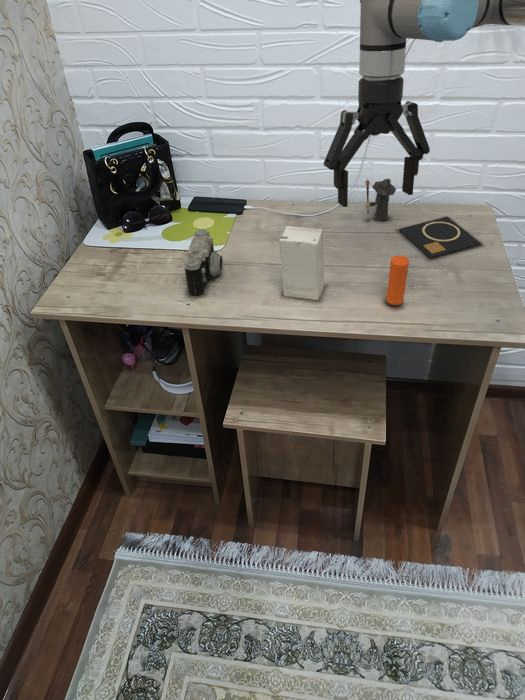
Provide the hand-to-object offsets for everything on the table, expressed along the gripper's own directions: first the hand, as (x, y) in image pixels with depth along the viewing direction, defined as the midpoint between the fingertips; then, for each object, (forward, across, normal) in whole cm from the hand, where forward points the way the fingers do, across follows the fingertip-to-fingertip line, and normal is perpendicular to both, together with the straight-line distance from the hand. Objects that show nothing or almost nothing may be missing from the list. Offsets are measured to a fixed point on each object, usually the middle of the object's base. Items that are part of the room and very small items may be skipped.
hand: (375, 198), depth 108 cm
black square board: (+20, -27, -18) cm, 38 cm away
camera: (+21, +30, -24) cm, 44 cm away
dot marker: (+24, -5, +1) cm, 24 cm away
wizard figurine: (+18, -18, -31) cm, 40 cm away
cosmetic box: (+23, +11, -10) cm, 27 cm away
